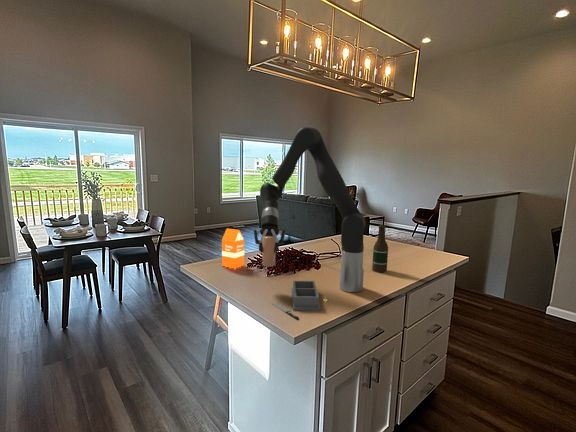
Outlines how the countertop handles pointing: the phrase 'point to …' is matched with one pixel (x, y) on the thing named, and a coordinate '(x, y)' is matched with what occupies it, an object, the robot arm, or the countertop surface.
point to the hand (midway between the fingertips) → (268, 251)
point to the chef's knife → (284, 310)
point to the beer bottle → (380, 252)
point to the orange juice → (232, 249)
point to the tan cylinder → (268, 251)
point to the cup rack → (305, 296)
